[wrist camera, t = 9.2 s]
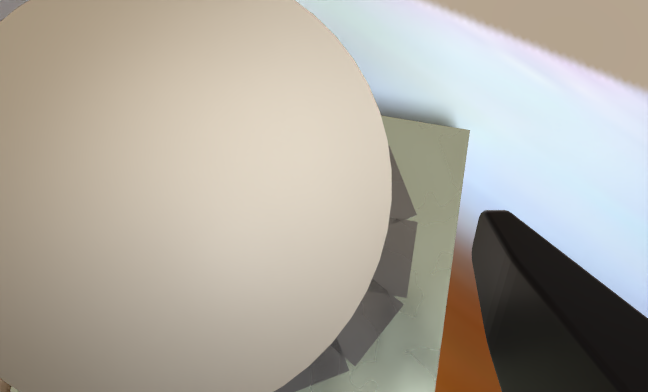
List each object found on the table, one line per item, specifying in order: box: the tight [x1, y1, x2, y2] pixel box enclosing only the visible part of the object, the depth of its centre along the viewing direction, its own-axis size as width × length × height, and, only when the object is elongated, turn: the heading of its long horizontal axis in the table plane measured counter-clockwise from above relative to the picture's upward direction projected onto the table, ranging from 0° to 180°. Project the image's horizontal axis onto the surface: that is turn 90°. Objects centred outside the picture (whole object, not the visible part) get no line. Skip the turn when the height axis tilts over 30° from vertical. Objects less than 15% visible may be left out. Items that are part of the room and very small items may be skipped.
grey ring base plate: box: [10, 116, 470, 392], centre depth 18 cm, size 15×14×4 cm
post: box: [0, 0, 392, 392], centre depth 12 cm, size 5×5×13 cm
